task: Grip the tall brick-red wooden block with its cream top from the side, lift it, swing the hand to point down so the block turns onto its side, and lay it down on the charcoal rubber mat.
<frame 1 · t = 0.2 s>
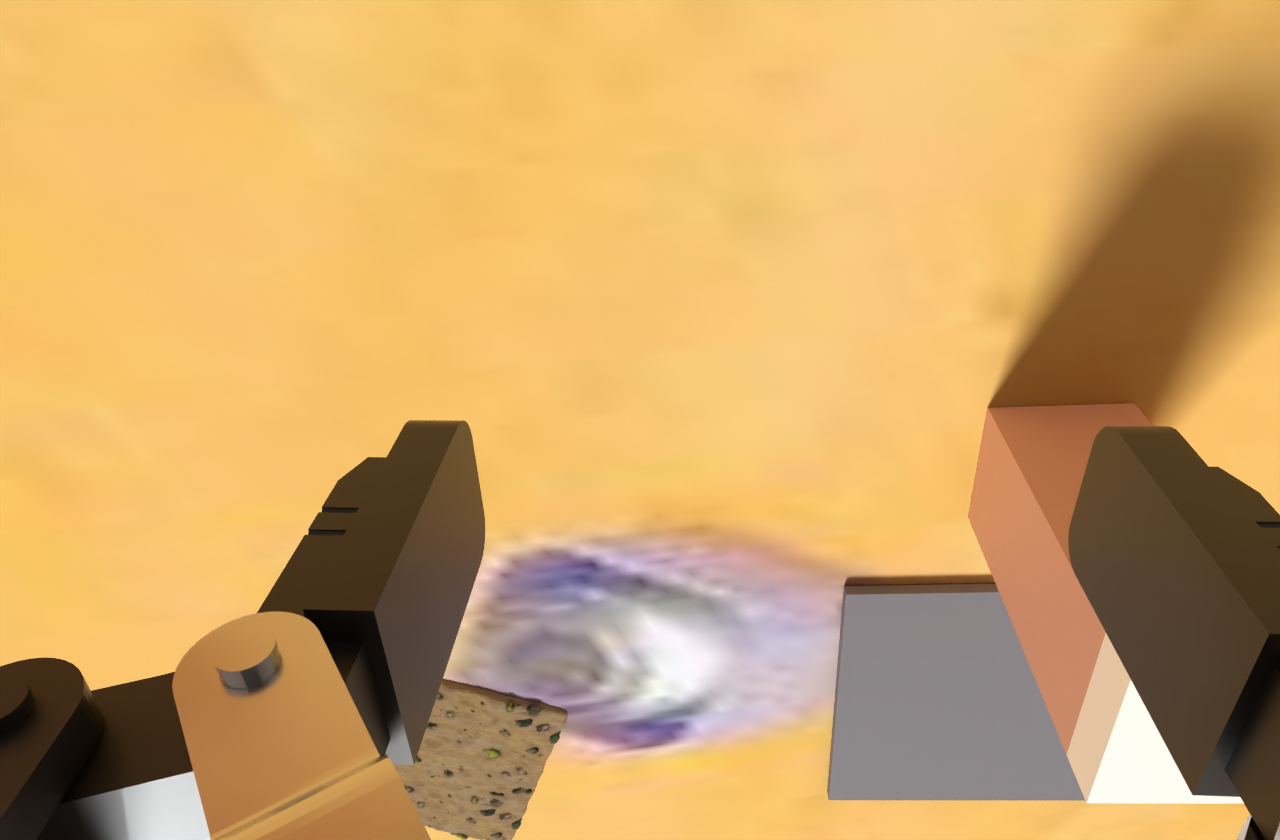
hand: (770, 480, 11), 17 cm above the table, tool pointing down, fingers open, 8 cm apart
mottled brown square tile: (425, 743, 44), on the table
mat: (1039, 696, 39), on the table
block: (1047, 462, 32), on the table
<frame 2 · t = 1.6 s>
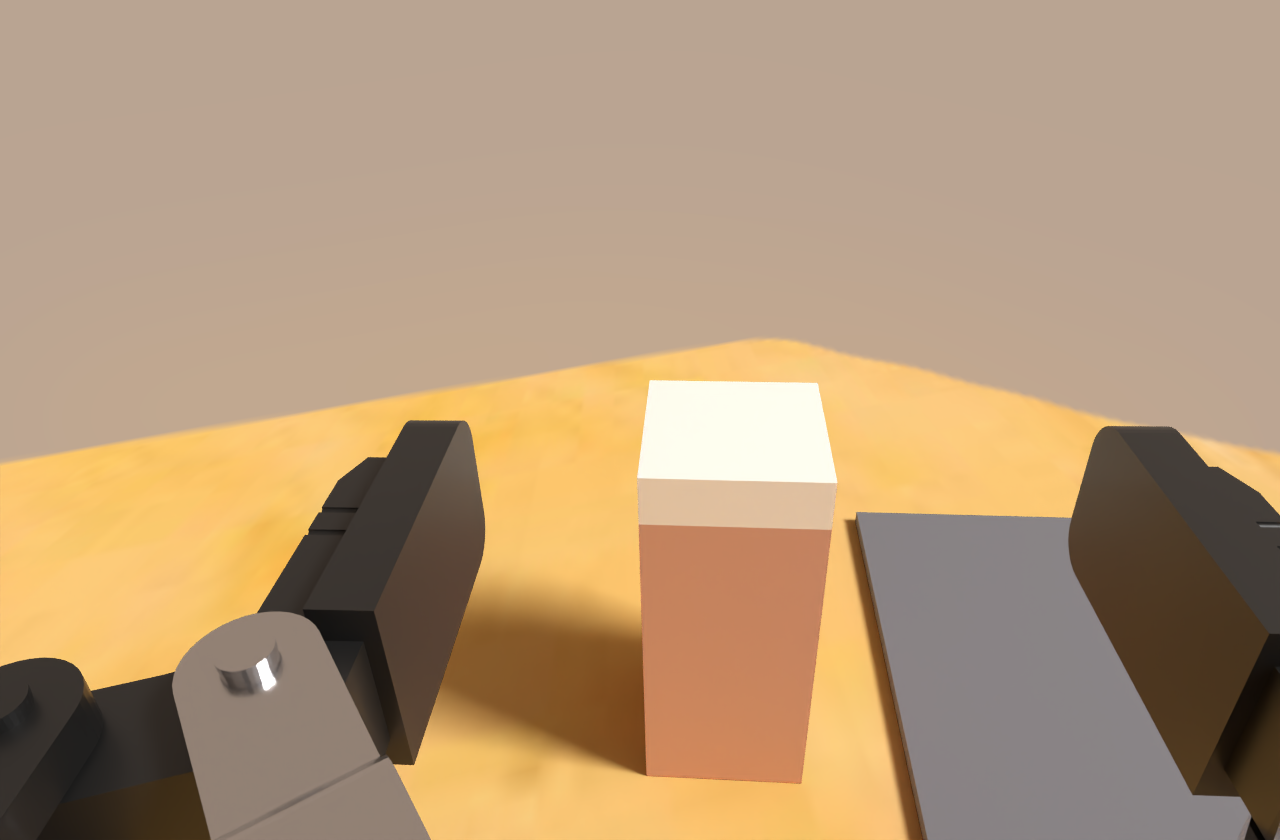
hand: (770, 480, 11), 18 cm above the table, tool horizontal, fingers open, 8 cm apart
mat: (1088, 685, 31), on the table
block: (722, 716, 30), on the table
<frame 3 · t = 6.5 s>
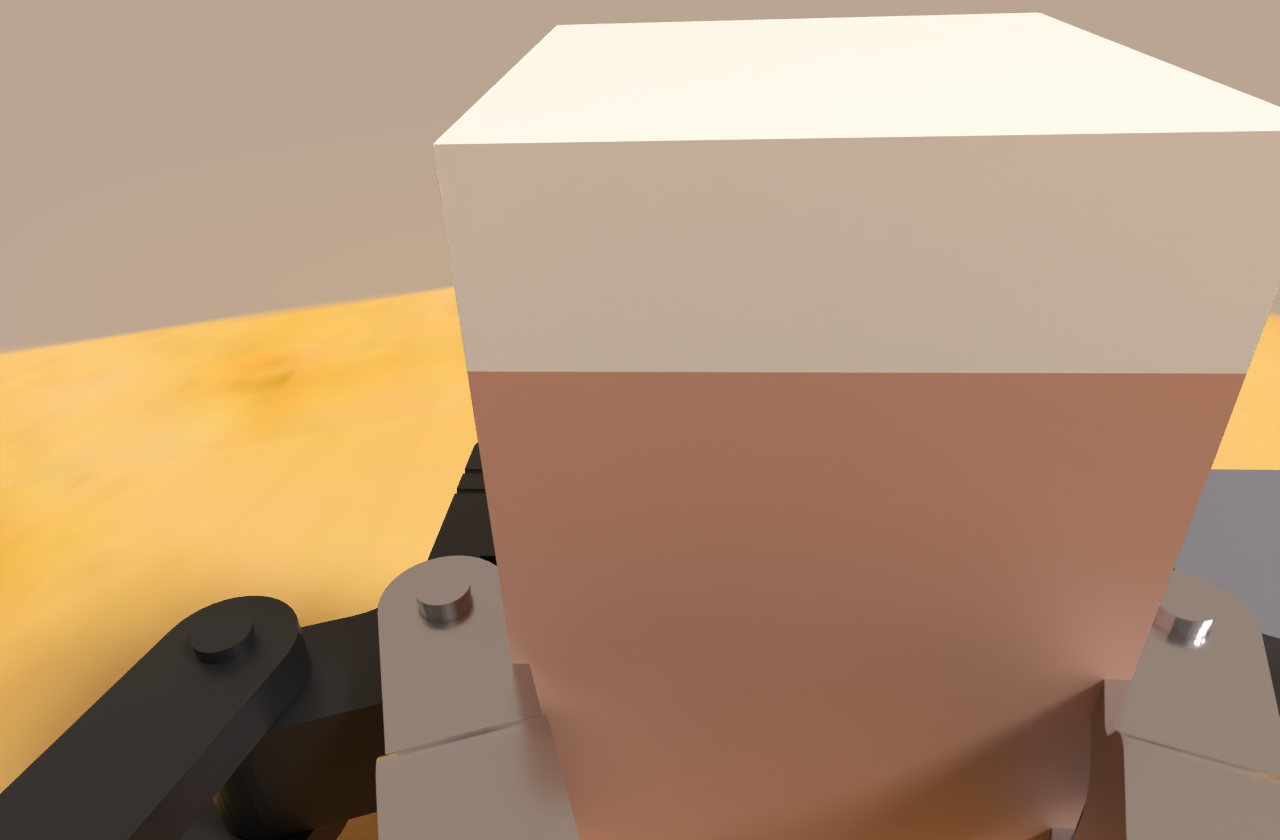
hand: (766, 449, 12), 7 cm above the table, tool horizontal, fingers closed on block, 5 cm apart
when the fingers open (2 cm above the table, at t = 13.2 s): block drops 1 cm, resting on mat.
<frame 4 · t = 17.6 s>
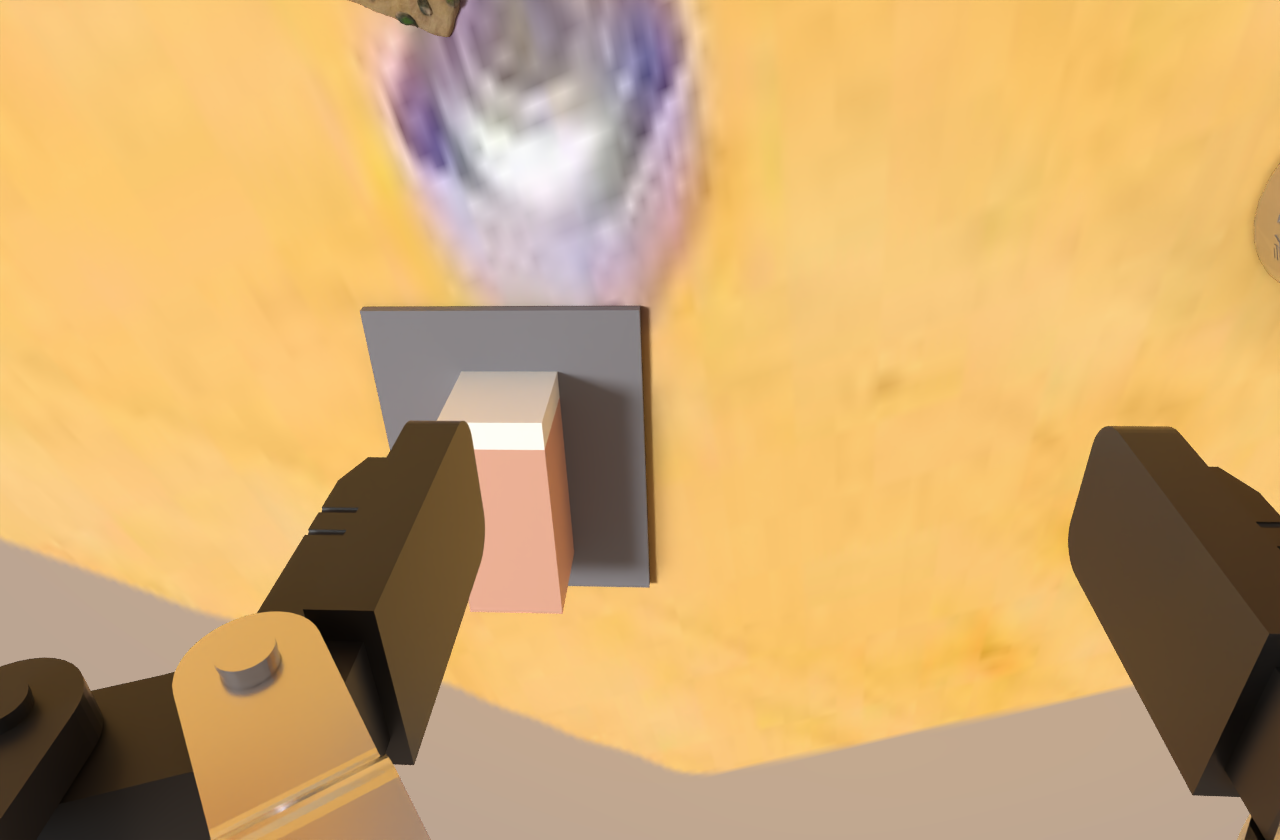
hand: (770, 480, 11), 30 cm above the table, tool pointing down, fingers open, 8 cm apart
mat: (518, 456, 48), on the table
block: (524, 580, 49), point 3 cm above the table, tilted 90°, touching mat
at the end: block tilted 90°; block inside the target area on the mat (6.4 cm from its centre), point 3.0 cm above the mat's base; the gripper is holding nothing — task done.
